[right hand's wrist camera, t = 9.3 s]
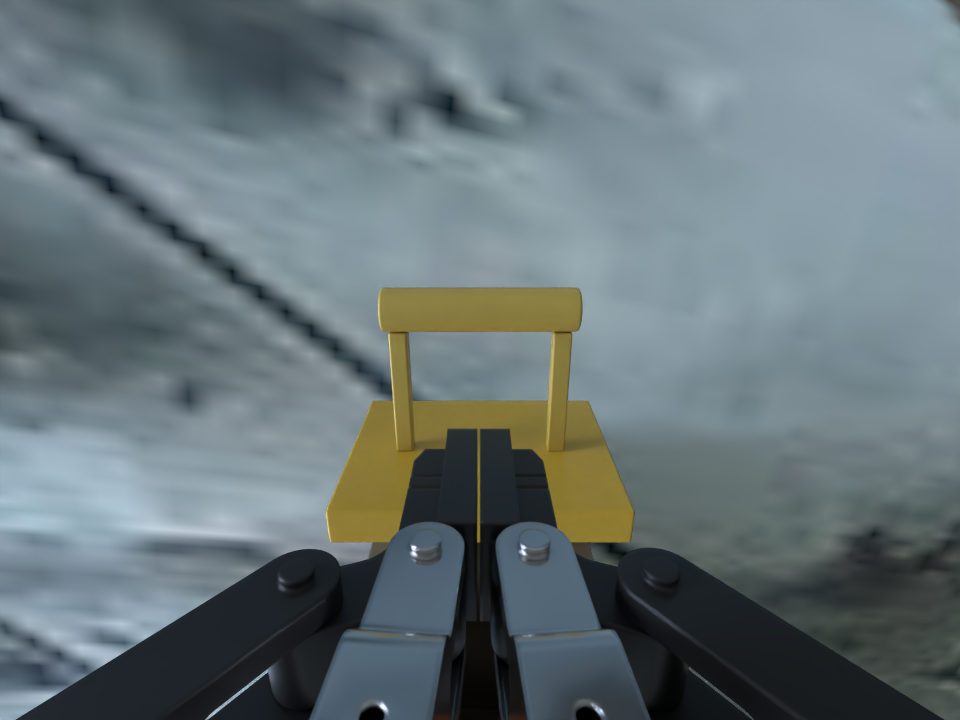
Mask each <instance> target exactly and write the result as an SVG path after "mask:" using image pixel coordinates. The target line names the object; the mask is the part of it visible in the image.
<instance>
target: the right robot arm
mask: <svg viewBox="0 0 960 720" xmlns="http://www.w3.org/2000/svg"><path fill="white" fill-rule="evenodd" d="M477 503H478V475H477V428H448V430H447V438H446V446H445V449H425V450H424V451H423V452H422V453H421V454H420V455H419V456H418V457H417V458H416V459H415V460H414V463H413V468H412V472H411V477H410V481H409V488H408V490H407V495H406V499H405V504H404V508H403V513H402V517H401V522H400V526H399V531H398V532H397V533H396V534H395V535H394V536H393V537H392V538H391V540H390V542H389V544H388V546H387V549H385V550H384V551H383V552H381V553H380V554H378V555H376V556H374V557H372V558H369V559H367V560H364V561H360V562H356V563H352V564H348V565H344V566H339V563H338V561H337V560H336V558H335V557H334V556H332V555H331V554H329V553H327V552H325V551H322V550H317V549H303V550H297V551H293V552H290V553H287V554H284V555H282V556H280V557H278V558H276V559H274V560H273V561H271V562H269V563H268V564H266V565H265V566H263V567H261V568H260V569H258V570H256V571H255V572H253V573H252V574H250V575H248V576H247V577H245V578H244V579H242V580H240V581H239V582H237V583H235V584H234V585H232V586H231V587H229V588H227V589H226V590H224V591H223V592H221V593H219V594H218V595H216V596H215V597H213V598H211V599H210V600H208V601H206V602H205V603H203V604H202V605H200V606H198V607H197V608H195V609H194V610H192V611H190V612H189V613H187V614H186V615H184V616H182V617H181V618H179V619H177V620H176V621H174V622H173V623H171V624H169V625H168V626H166V627H165V628H163V629H161V630H160V631H158V632H156V633H155V634H153V635H152V636H150V637H148V638H147V639H145V640H144V641H142V642H140V643H139V644H137V645H136V646H134V647H132V648H131V649H129V650H127V651H126V652H124V653H123V654H121V655H119V656H118V657H116V658H115V659H113V660H111V661H110V662H108V663H106V664H105V665H103V666H102V667H100V668H98V669H97V670H95V671H94V672H92V673H90V674H89V675H87V676H86V677H84V678H82V679H81V680H79V681H77V682H76V683H74V684H73V685H71V686H69V687H68V688H66V689H65V690H63V691H61V692H60V693H58V694H57V695H55V696H53V697H52V698H50V699H48V700H47V701H45V702H44V703H42V704H40V705H39V706H37V707H36V708H34V709H32V710H31V711H29V712H27V713H26V714H24V715H23V716H21V717H19V718H18V719H16V720H205V719H206V718H207V717H208V716H209V715H210V714H211V713H212V712H213V711H214V710H216V709H217V708H218V707H219V706H221V705H222V704H223V703H225V702H226V701H227V700H228V699H230V698H231V697H232V696H234V695H235V694H236V693H237V692H239V691H240V690H241V689H242V688H244V687H245V686H246V685H248V684H249V683H250V682H251V681H253V680H254V679H255V678H256V677H258V676H259V675H260V674H262V673H263V672H264V671H265V670H267V669H268V673H267V674H265V675H264V676H263V677H262V678H260V679H259V680H258V681H256V682H255V683H254V684H253V685H251V686H250V687H249V688H248V689H246V690H245V691H244V692H243V693H241V694H240V695H239V696H237V697H236V698H235V699H234V700H232V701H231V702H230V703H229V704H227V705H226V706H225V707H224V708H222V709H221V710H220V711H218V712H217V713H216V714H215V715H213V716H212V717H211V718H210V719H208V720H459V718H460V709H461V700H462V691H463V682H464V673H465V664H466V621H477ZM480 621H490V625H491V643H492V646H493V649H494V664H495V673H496V682H497V691H498V700H499V709H500V718H501V720H752V719H750V718H749V717H748V716H747V715H745V714H744V713H743V712H742V711H740V710H739V709H738V708H736V707H735V706H734V705H733V704H731V703H730V702H729V701H728V700H726V699H725V698H724V697H723V696H721V695H720V694H719V693H717V692H716V691H715V690H714V689H712V688H711V687H710V686H709V685H707V684H706V683H705V682H704V681H702V680H701V679H700V678H698V677H697V676H696V675H695V674H693V673H692V672H691V671H690V670H688V669H689V667H691V668H692V669H693V670H695V671H696V672H697V673H698V674H700V675H701V676H702V677H703V678H705V679H706V680H707V681H709V682H710V683H711V684H712V685H714V686H715V687H716V688H718V689H719V690H720V691H721V692H723V693H724V694H725V695H726V696H728V697H729V698H730V699H732V700H733V701H734V702H735V703H737V704H738V705H739V706H741V707H742V708H743V709H744V710H745V711H747V712H748V713H749V714H750V715H751V716H752V718H753V719H754V720H944V719H942V718H941V717H939V716H937V715H936V714H934V713H932V712H931V711H929V710H928V709H926V708H924V707H923V706H921V705H920V704H918V703H916V702H915V701H913V700H912V699H910V698H908V697H907V696H905V695H903V694H902V693H900V692H899V691H897V690H895V689H894V688H892V687H891V686H889V685H887V684H886V683H884V682H883V681H881V680H879V679H878V678H876V677H874V676H873V675H871V674H870V673H868V672H866V671H865V670H863V669H862V668H860V667H858V666H857V665H855V664H853V663H852V662H850V661H849V660H847V659H845V658H844V657H842V656H841V655H839V654H837V653H836V652H834V651H833V650H831V649H829V648H828V647H826V646H824V645H823V644H821V643H820V642H818V641H816V640H815V639H813V638H812V637H810V636H808V635H807V634H805V633H804V632H802V631H800V630H799V629H797V628H795V627H794V626H792V625H791V624H789V623H787V622H786V621H784V620H783V619H781V618H779V617H778V616H776V615H774V614H773V613H771V612H770V611H768V610H766V609H765V608H763V607H762V606H760V605H758V604H757V603H755V602H754V601H752V600H750V599H749V598H747V597H745V596H744V595H742V594H741V593H739V592H737V591H736V590H734V589H733V588H731V587H729V586H728V585H726V584H725V583H723V582H721V581H720V580H718V579H716V578H715V577H713V576H712V575H710V574H708V573H707V572H705V571H704V570H702V569H700V568H699V567H697V566H695V565H694V564H692V563H691V562H689V561H687V560H686V559H684V558H682V557H681V556H679V555H677V554H674V553H672V552H669V551H666V550H662V549H657V548H641V549H636V550H633V551H630V552H629V553H627V554H626V555H624V556H623V557H622V559H621V560H620V562H619V565H618V567H616V566H612V565H608V564H603V563H599V562H596V561H592V560H589V559H587V558H584V557H582V556H580V555H578V554H576V553H575V552H574V549H573V546H572V544H571V542H570V540H569V538H568V537H567V536H566V535H565V534H564V533H563V532H562V531H560V530H559V529H558V528H557V523H556V519H555V514H554V509H553V504H552V500H551V495H550V490H549V486H548V481H547V477H546V471H545V467H544V462H543V460H542V459H541V458H540V457H539V456H538V455H537V454H536V453H535V452H534V451H533V450H532V449H512V444H511V435H510V429H480Z"/></svg>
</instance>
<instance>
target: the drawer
mask: <svg viewBox="0 0 960 720" xmlns="http://www.w3.org/2000/svg"><path fill="white" fill-rule="evenodd" d="M378 319H379V325H380V328H381V330H382V331H384V332H389V334H388V338H389V352H390V365H391V379H392V392H393V401H373V402H372V404H371V406H370V409H369V411H368V413H367V416H366V418H365V420H364V423H363V425H362V428H361V430H360V432H359V435H358V437H357V439H356V442H355V444H354V446H353V449H352V451H351V454H350V456H349V458H348V461H347V463H346V465H345V468H344V470H343V472H342V475H341V477H340V480H339V482H338V484H337V487H336V489H335V491H334V494H333V496H332V498H331V501H330V503H329V505H328V508H327V510H326V518H327V525H328V532H329V539H330V542H372V544H371V548H370V551H369V555H368V559H369V558H372V557H374V556H376V555H378V554H380V553H381V552H383V551H384V550H385V549H387V546H388V544H389V542H390V540H391V538H392V537H393V536H394V535H395V534H396V533H397V532H398V531H399V526H400V522H401V517H402V513H403V508H404V504H405V499H406V495H407V490H408V488H409V481H410V477H411V472H412V468H413V463H414V460H415V459H416V458H417V457H418V456H419V455H420V454H421V453H422V452H423V451H424V450H425V449H445V446H446V438H447V430H448V428H477V475H478V503H477V621H466V664H465V673H464V682H463V691H462V700H461V709H460V718H459V720H501V718H500V709H499V700H498V691H497V682H496V673H495V664H494V649H493V646H492V643H491V625H490V621H480V429H510V435H511V444H512V449H532V450H533V451H534V452H535V453H536V454H537V455H538V456H539V457H540V458H541V459H542V460H543V462H544V467H545V471H546V477H547V481H548V486H549V490H550V495H551V500H552V504H553V509H554V514H555V519H556V523H557V528H558V529H559V530H560V531H562V532H563V533H564V534H565V535H566V536H567V537H568V538H569V540H570V542H571V544H572V546H573V549H574V552H575V553H576V554H578V555H580V556H582V557H584V558H587V559H589V560H592V561H594V560H593V556H592V552H591V548H590V545H589V542H630V541H631V537H632V529H633V522H634V515H635V512H634V509H633V507H632V504H631V502H630V500H629V497H628V495H627V492H626V490H625V488H624V485H623V483H622V480H621V478H620V476H619V473H618V471H617V468H616V466H615V464H614V461H613V459H612V456H611V454H610V452H609V449H608V447H607V444H606V442H605V440H604V437H603V435H602V432H601V430H600V428H599V425H598V423H597V420H596V418H595V416H594V413H593V411H592V408H591V406H590V404H589V401H568V388H569V374H570V359H571V345H572V333H571V332H576V331H578V330H579V328H580V326H581V321H582V295H581V292H580V289H579V288H382V289H381V290H380V293H379V297H378ZM409 332H552V338H551V356H550V374H549V392H548V401H412V384H411V366H410V349H409Z"/></svg>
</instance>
